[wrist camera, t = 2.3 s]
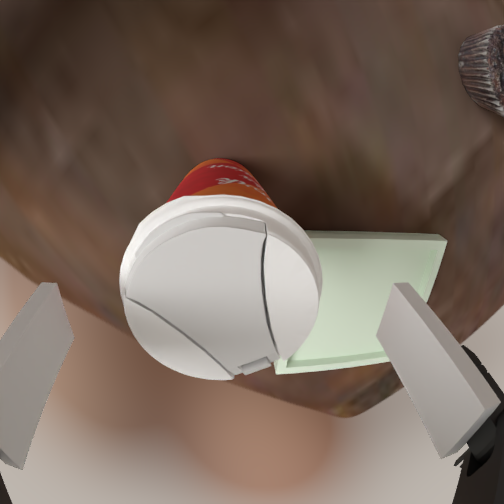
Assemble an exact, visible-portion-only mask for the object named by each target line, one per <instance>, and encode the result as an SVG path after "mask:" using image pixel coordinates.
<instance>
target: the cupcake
mask: <svg viewBox="0 0 504 504" xmlns="http://www.w3.org/2000/svg"><path fill="white" fill-rule="evenodd" d="M458 56H459V72H460V76H461V79H462V83H463V85H464V87H465V89H466V91H467V93H468V94H469V96H470V97H471V99H472V100H474V101H475V102H476V103H477V104H478V105H479V106H481V107H483V108H486V109H488V110H490V111H493V112H494V113H496V114H498V115H500V116H502V117H504V25H499V26H495V27H493V28H490V29H488V30H485V31H483V32H480V33H477V34H475V35H472V36H470V37H468V38H466V40H465V41H464V42H463V44H462V46H461V48H460V52H459V55H458Z"/></svg>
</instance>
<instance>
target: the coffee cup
mask: <svg viewBox="0 0 504 504" xmlns="http://www.w3.org/2000/svg"><path fill="white" fill-rule="evenodd" d="M119 283H120V293H121V297H122V301H123V304H124V310H125V315H126V318H127V321H128V325H129V327H130V329H131V330H132V332H133V334H134V336H135V338H136V339H137V341H138V342H139V343H140V345H141V346H142V347H143V348H144V349H145V350H146V351H147V352H148V353H149V354H150V355H151V356H152V357H154V358H155V359H156V360H157V361H159V362H160V363H162V364H164V365H165V366H167V367H169V368H171V369H173V370H175V371H177V372H180V373H182V374H185V375H189V376H193V377H196V378H203V379H210V380H231V379H233V378H234V375H237V374H240V373H243V374H245V375H247V374H250V373H253V372H256V371H258V370H261V369H264V368H267V367H270V366H271V364H270V363H271V362H273V361H276V360H279V359H280V357H279V356H281V358H282V360H283V362H284V361H285V360H286V359H288V358H289V357H290V356H291V355H293V354H294V353H295V352H296V351H297V350H298V349H299V348H300V347H301V345H302V344H303V343H304V341H305V340H306V339H307V337H308V336H309V334H310V332H311V330H312V328H313V326H314V324H315V321H316V318H317V314H318V309H319V301H320V297H321V292H322V283H323V279H322V267H321V263H320V260H319V256H318V253H317V251H316V249H315V247H314V245H313V243H312V241H311V240H310V238H309V237H308V236H307V234H306V233H305V231H304V230H303V229H302V228H301V227H300V226H299V225H298V224H297V223H296V222H295V221H294V220H293V219H292V218H291V217H289V216H288V215H286V214H285V213H283V212H282V211H280V210H279V209H278V208H277V207H276V206H275V204H274V203H273V201H272V200H271V199H270V197H269V196H268V195H267V193H266V192H265V191H264V189H263V188H262V187H261V185H260V184H259V183H258V181H257V180H256V179H255V178H254V176H253V175H252V174H251V173H250V172H249V171H248V170H247V169H246V168H245V167H244V166H242V165H241V164H239V163H237V162H235V161H233V160H229V159H223V158H217V159H210V160H207V161H204V162H202V163H200V164H198V165H197V166H196V167H194V168H193V169H192V170H191V171H190V172H189V173H188V174H187V175H186V177H185V178H184V179H183V180H182V182H181V183H180V184H179V186H178V187H177V189H176V190H175V191H174V193H173V194H172V196H171V197H170V198H169V200H168V201H167V203H166V204H164V205H163V206H161V207H159V208H158V209H156V210H154V211H153V212H152V213H150V214H149V215H148V216H147V217H146V218H145V219H144V220H143V221H141V222H140V223H139V225H138V227H137V229H136V231H135V234H134V236H133V238H132V240H131V242H130V244H129V246H128V248H127V250H126V252H125V254H124V257H123V261H122V264H121V268H120V279H119Z"/></svg>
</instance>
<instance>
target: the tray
mask: <svg viewBox="0 0 504 504" xmlns="http://www.w3.org/2000/svg"><path fill="white" fill-rule="evenodd" d="M304 231H305V233H306V234H307V236H308V237H309V238H310V240H311V241H312V243H313V245H314V247H315V249H316V251H317V253H318V256H319V260H320V263H321V267H322V279H323V283H322V292H321V297H320V301H319V309H318V314H317V318H316V321H315V324H314V326H313V328H312V330H311V332H310V334H309V336H308V337H307V339H306V340H305V341H304V343H303V344H302V345H301V347H300V348H299V349H298V350H297V351H296V352H295V353H294V354H293V355H291V356H290V357H289V358H288V359H286V360H285V361H284V362H283V360H282V358H281V356H279V357H280V359H279V360H276V361H274V367H275V372H276V374H289V373H301V372H313V371H323V370H332V369H340V368H349V367H356V366H363V365H370V364H377V363H383V362H389V361H390V360H389V358H388V356H387V354H386V352H385V351H384V349H383V347H382V345H381V344H380V342H379V340H378V338H377V337H376V334H377V331H378V328H379V325H380V323H381V320H382V317H383V314H384V311H385V308H386V305H387V301H388V298H389V295H390V292H391V289H392V285H393V283H405V282H408V283H409V284H410V285H411V286H412V287H413V288H414V290H415V291H416V292H417V293H418V294H419V295H420V296H421V298H422V299H423V300H424V301H425V302H426V303H427V301H428V298H429V295H430V293H431V290H432V287H433V284H434V282H435V279H436V276H437V273H438V270H439V267H440V264H441V261H442V257H443V254H444V251H445V248H446V244H447V240H446V239H444V238H443V237H442V236H441V235H439V234H422V233H393V232H359V231H314V230H304Z"/></svg>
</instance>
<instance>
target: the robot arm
mask: <svg viewBox="0 0 504 504" xmlns="http://www.w3.org/2000/svg"><path fill="white" fill-rule="evenodd" d="M376 337H377V338H378V340H379V342H380V344H381V345H382V347H383V349H384V351H385V352H386V354H387V356H388V358H389V360H390V361H391V363H392V365H393V367H394V369H395V370H396V372H397V374H398V376H399V378H400V380H401V381H402V383H403V385H404V387H405V389H406V390H407V392H408V395H409V396H410V398H411V400H412V402H413V404H414V406H415V408H416V410H417V412H418V414H419V416H420V417H421V419H422V422H423V424H424V425H425V427H426V429H427V431H428V433H429V435H430V437H431V440H432V442H433V444H434V446H435V448H436V450H437V452H438V454H439V456H440V458H441V459H442V458H445V457H447V456H450V455H452V454H454V453H456V452H458V451H459V450H460V449H461V448H462V447H463V446H464V445H465V444H466V443H467V444H468V446H469V449H468V450H467V451H466V452H465V453H464V454H463V455H462V456H460V457H459V458H458V459H457V460H456V462H455V464H454V466H457V465H458V464H459V463H460V462H461V461H462V460H463V459H464V461H463V464H462V465H461V466H460V467H461V468H462V470H461V474H460V478H459V482H458V485H457V489H456V493H455V496H454V499H453V503H452V504H504V393H503V392H502V391H501V389H500V388H499V386H498V385H497V383H496V382H495V381H494V379H493V378H492V376H491V375H490V374H489V373H487V370H486V368H485V367H484V366H483V365H481V362H480V360H479V359H478V358H477V356H476V355H475V354H474V353H473V352H472V351H470V350H469V349H468V348H467V347H465V346H464V345H462V346H460V344H459V343H458V342H457V341H456V339H455V338H454V337H453V335H452V334H451V333H450V332H449V330H448V329H447V328H446V327H445V325H444V324H443V323H442V322H441V320H440V319H439V318H438V317H437V316H436V314H435V313H434V312H433V311H432V310H431V308H430V307H429V306H428V305H427V304H426V302H425V301H424V300H423V299H422V298H421V296H420V295H419V294H418V293H417V292H416V291H415V290H414V288H413V287H412V286H411V285H410V284H409V283H408V282H405V283H393V285H392V289H391V292H390V295H389V298H388V301H387V305H386V308H385V311H384V314H383V317H382V320H381V323H380V325H379V328H378V331H377V334H376ZM73 340H74V335H73V332H72V329H71V327H70V324H69V321H68V318H67V315H66V312H65V308H64V305H63V302H62V299H61V295H60V292H59V288H58V285H57V283H44V282H42V283H41V284H40V285H39V286H38V288H37V289H36V290H35V292H34V293H33V294H32V296H31V297H30V298H29V300H28V301H27V302H26V304H25V305H24V306H23V308H22V309H21V311H20V312H19V313H18V315H17V316H16V318H15V319H14V320H13V322H12V323H11V325H10V326H9V328H8V329H7V331H6V332H5V334H4V335H3V337H2V338H1V340H0V459H1V460H2V461H3V462H4V463H5V464H8V465H10V466H13V467H16V468H18V469H21V470H23V467H24V464H25V461H26V457H27V454H28V451H29V448H30V445H31V442H32V439H33V436H34V433H35V430H36V428H37V425H38V422H39V419H40V417H41V414H42V411H43V409H44V406H45V404H46V401H47V399H48V396H49V394H50V391H51V389H52V386H53V384H54V382H55V379H56V377H57V374H58V372H59V370H60V368H61V366H62V363H63V361H64V359H65V357H66V354H67V352H68V350H69V348H70V346H71V344H72V342H73ZM0 504H12V502H11V499H10V497H9V494H8V492H7V489H6V487H5V484H4V481H3V479H2V476H1V473H0Z"/></svg>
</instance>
